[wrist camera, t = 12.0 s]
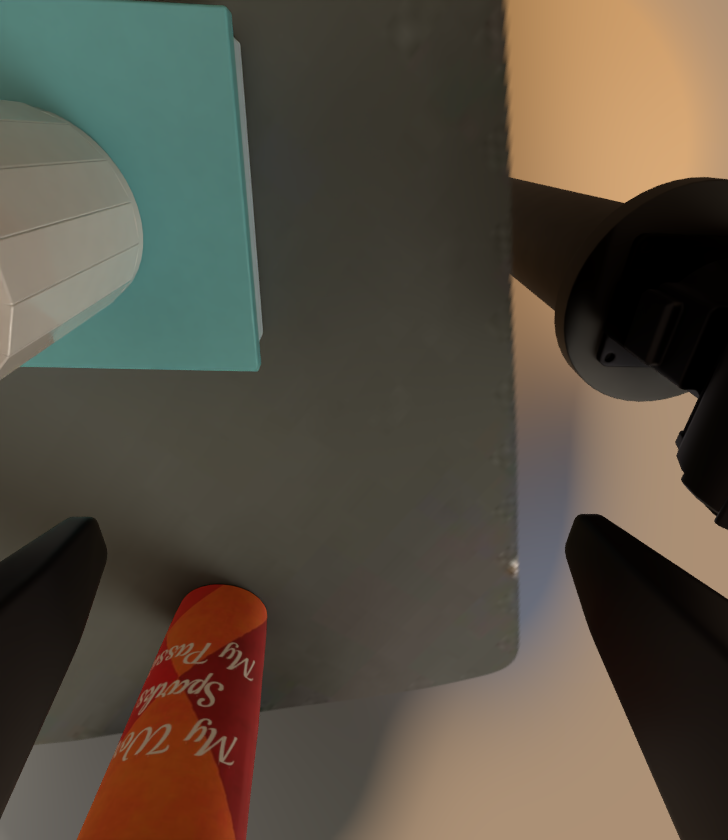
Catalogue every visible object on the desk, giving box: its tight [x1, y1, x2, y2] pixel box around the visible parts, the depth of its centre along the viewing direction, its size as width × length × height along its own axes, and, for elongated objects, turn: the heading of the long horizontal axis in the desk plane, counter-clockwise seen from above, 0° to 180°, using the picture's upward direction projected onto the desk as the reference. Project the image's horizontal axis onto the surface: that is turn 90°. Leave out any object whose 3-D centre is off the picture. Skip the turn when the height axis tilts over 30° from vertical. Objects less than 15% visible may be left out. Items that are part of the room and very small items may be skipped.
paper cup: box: [77, 585, 267, 840], centre depth 24 cm, size 8×8×14 cm
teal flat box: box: [0, 0, 263, 371], centre depth 16 cm, size 13×11×3 cm
